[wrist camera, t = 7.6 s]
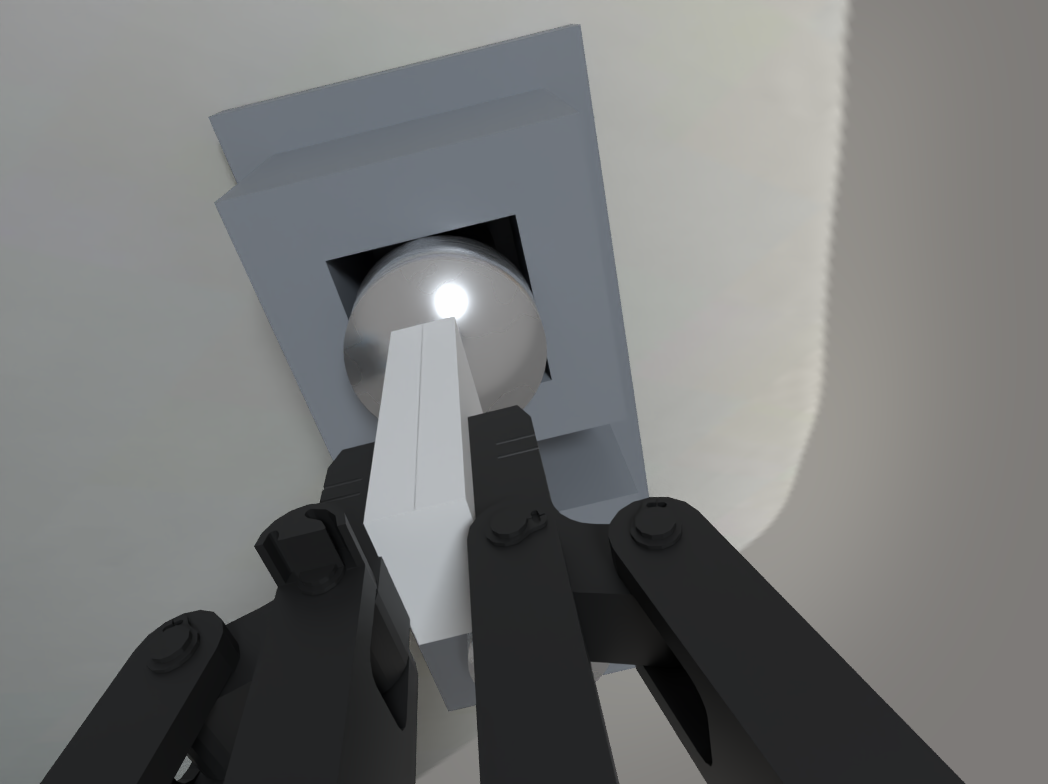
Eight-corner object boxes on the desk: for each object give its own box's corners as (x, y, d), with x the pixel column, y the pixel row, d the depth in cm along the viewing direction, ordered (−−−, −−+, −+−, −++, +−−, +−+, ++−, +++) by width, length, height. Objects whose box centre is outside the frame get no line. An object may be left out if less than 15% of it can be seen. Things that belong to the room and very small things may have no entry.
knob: (399, 334, 24) (382, 460, 17) (353, 203, 22) (311, 289, 15) (528, 303, 24) (562, 416, 17) (497, 167, 22) (524, 237, 15)
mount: (427, 593, 34) (423, 740, 27) (223, 110, 22) (120, 153, 15) (649, 540, 34) (703, 674, 27) (571, 24, 21) (632, 26, 15)
